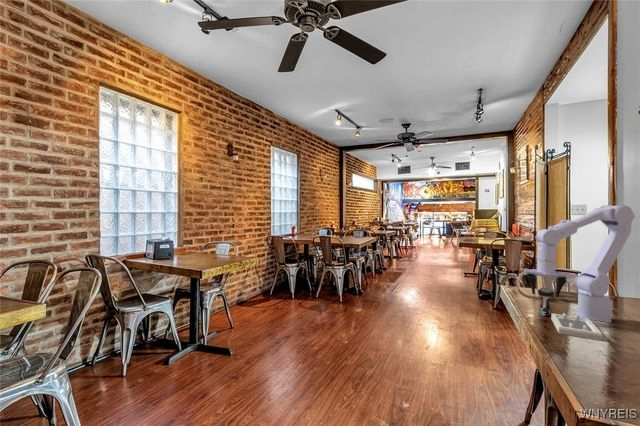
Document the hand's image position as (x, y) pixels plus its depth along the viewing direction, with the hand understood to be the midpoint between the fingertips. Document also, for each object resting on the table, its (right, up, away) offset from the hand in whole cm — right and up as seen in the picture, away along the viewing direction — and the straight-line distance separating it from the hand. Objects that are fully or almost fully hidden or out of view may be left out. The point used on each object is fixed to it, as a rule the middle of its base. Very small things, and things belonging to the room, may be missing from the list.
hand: (545, 295), depth 126 cm
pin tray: (0, -8, -15) cm, 17 cm away
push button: (0, -8, 0) cm, 8 cm away
